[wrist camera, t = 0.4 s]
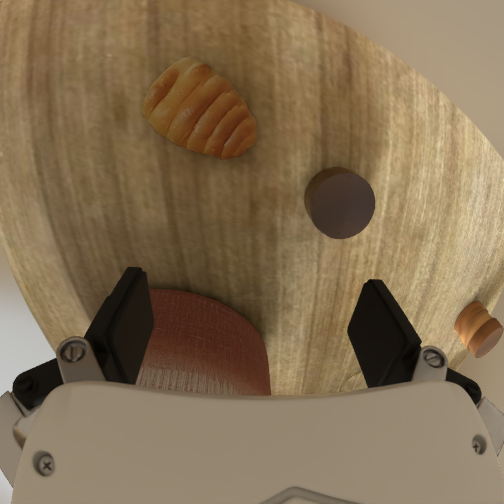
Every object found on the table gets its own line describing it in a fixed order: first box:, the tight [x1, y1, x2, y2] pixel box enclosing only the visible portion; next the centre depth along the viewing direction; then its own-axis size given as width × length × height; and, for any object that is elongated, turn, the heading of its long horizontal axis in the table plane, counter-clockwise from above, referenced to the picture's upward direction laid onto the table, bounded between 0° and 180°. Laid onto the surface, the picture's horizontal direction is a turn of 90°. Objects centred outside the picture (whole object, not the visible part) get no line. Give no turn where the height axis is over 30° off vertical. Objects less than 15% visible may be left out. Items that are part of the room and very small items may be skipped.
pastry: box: [142, 56, 257, 159], centre depth 18 cm, size 9×7×4 cm
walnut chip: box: [304, 167, 375, 239], centre depth 23 cm, size 6×6×2 cm
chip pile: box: [455, 301, 504, 358], centre depth 30 cm, size 7×7×7 cm
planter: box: [136, 289, 271, 396], centre depth 24 cm, size 22×22×20 cm
